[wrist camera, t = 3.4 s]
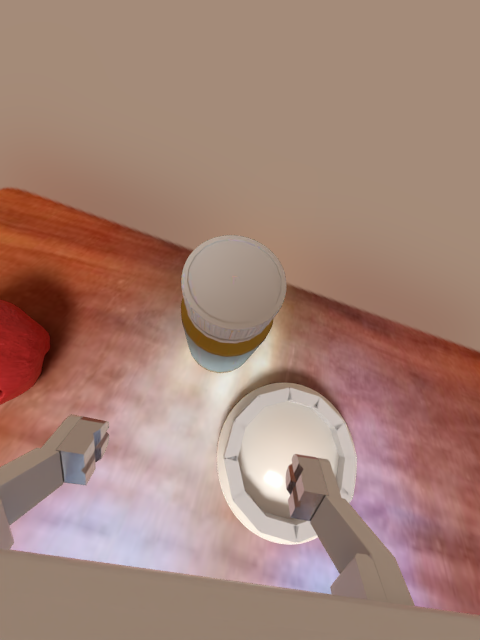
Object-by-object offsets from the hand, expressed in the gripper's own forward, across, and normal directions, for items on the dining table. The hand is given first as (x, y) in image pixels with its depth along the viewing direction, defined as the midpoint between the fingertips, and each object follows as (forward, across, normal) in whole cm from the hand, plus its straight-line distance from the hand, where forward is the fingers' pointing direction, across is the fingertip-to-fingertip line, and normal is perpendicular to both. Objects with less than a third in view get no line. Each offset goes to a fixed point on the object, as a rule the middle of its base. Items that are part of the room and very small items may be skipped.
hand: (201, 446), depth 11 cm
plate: (+10, -9, +12) cm, 18 cm away
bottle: (+17, 0, +5) cm, 18 cm away
